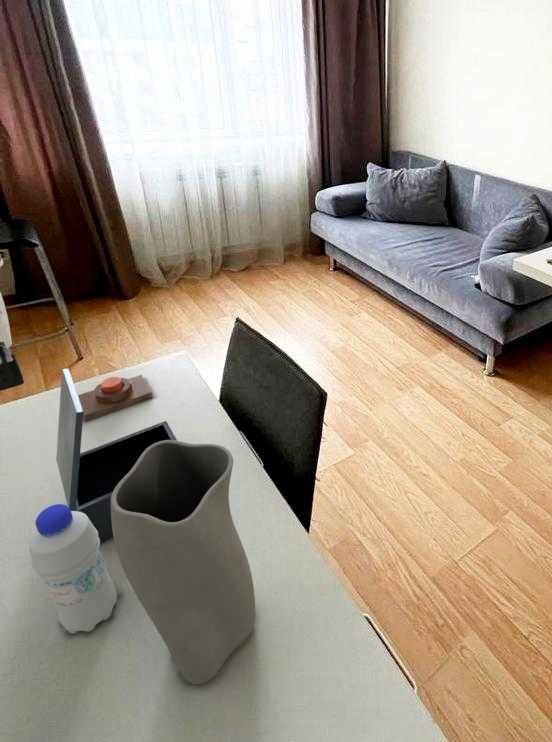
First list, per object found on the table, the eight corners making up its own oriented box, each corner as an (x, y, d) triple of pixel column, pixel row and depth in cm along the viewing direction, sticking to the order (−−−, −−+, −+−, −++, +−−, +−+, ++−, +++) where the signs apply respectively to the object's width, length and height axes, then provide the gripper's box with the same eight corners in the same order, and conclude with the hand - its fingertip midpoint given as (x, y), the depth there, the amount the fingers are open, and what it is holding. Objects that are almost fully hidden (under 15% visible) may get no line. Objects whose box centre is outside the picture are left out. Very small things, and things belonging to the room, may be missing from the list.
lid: (68, 368, 75) (61, 368, 75) (83, 411, 67) (76, 412, 67) (62, 458, 80) (56, 459, 79) (75, 509, 71) (69, 511, 71)
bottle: (49, 632, 65) (-1, 528, 56) (93, 584, 71) (55, 483, 62) (91, 647, 64) (47, 543, 55) (133, 597, 70) (99, 496, 61)
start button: (104, 396, 102) (102, 389, 101) (101, 387, 104) (99, 380, 103) (124, 389, 104) (123, 382, 103) (120, 381, 106) (119, 374, 105)
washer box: (174, 456, 93) (166, 420, 89) (196, 499, 85) (188, 461, 81) (74, 499, 83) (60, 461, 79) (88, 553, 75) (73, 512, 71)
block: (86, 424, 99) (81, 408, 97) (79, 403, 104) (74, 388, 103) (153, 400, 107) (149, 385, 105) (143, 382, 112) (139, 367, 110)
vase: (217, 715, 58) (173, 545, 45) (136, 675, 61) (73, 505, 48) (280, 614, 69) (259, 453, 56) (208, 584, 72) (172, 425, 59)
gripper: (-85, 245, 60) (-31, 369, 68) (-92, 289, 50) (-28, 428, 58) (-5, 234, 65) (37, 351, 73) (4, 272, 55) (51, 402, 63)
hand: (8, 385), depth 65 cm, fingers closed
